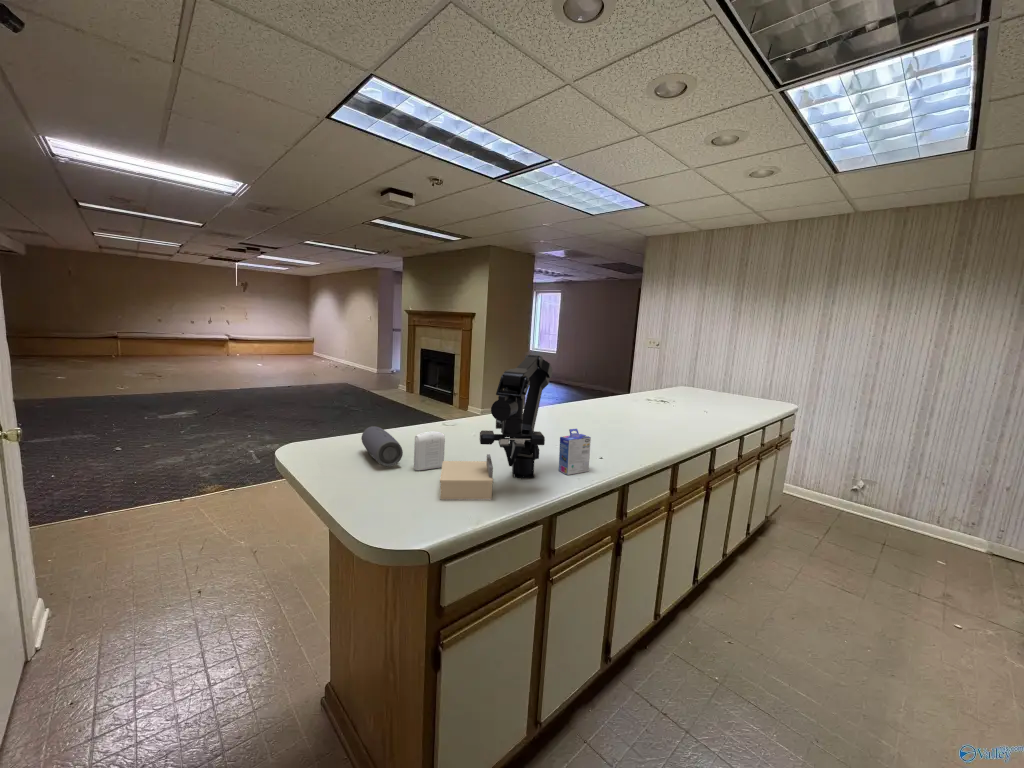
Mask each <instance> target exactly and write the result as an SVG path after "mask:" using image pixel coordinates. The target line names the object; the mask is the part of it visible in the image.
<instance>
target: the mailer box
mask: <svg viewBox="0 0 1024 768" xmlns="http://www.w3.org/2000/svg"><path fill="white" fill-rule="evenodd" d="M492 493H493V483H464V482H440V501H452V500H454V501H464V500H465V501H478V500H479V501H483V500H484V501H486V500H488V501H492V496H493V495H492Z"/></svg>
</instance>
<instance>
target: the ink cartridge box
mask: <svg viewBox="0 0 1024 768" xmlns="http://www.w3.org/2000/svg"><path fill="white" fill-rule="evenodd" d="M568 431H569V435H564V436H563V435H562V436H560V437H559V455H558V472H561V473H562V474H564V475H566V476H569V475H575V474H581V473H585V472H589V470H590V459H591V458H590V455H591V441H592V439H591V438H592V437H591V436H588V435H586V434H583V433H580V432H579V430H578V428H570V429H568ZM572 432H573V433H572Z"/></svg>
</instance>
